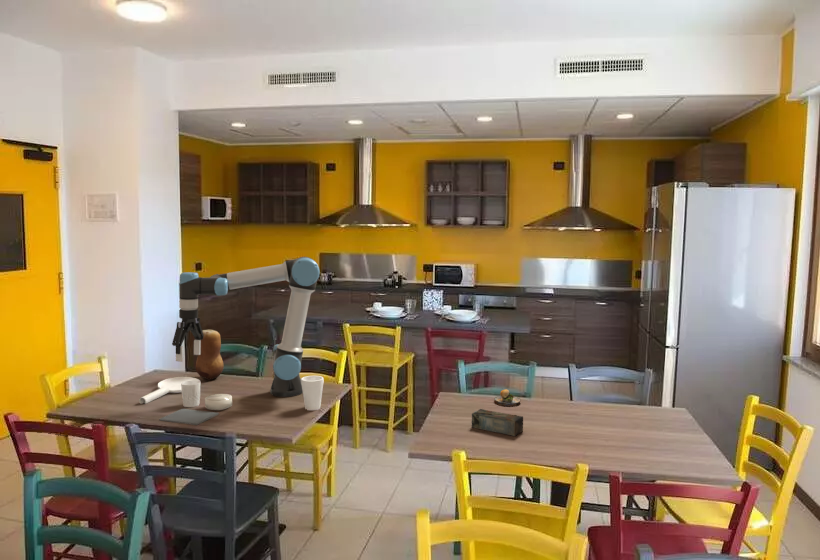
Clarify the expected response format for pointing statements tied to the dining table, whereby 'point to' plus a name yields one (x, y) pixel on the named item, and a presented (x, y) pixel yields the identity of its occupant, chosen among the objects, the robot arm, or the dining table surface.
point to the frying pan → (166, 388)
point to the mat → (189, 416)
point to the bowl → (218, 401)
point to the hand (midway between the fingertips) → (188, 358)
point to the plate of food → (506, 399)
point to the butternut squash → (210, 355)
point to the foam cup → (312, 391)
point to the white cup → (190, 393)
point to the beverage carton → (497, 422)
